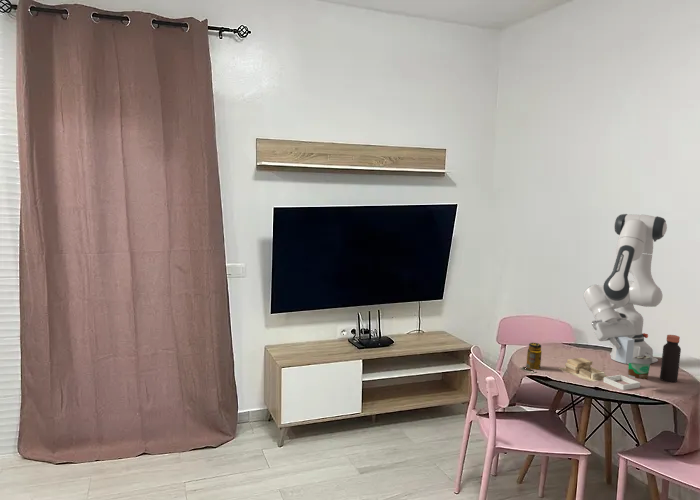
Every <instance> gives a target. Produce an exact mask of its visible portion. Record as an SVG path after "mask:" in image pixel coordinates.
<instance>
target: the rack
mask: <svg viewBox="0 0 700 500" xmlns="http://www.w3.org/2000/svg"><path fill="white" fill-rule="evenodd" d="M558 369H559V370H560V371H562V372H565V373H567V374H570V375H572V376H574V377H576V378H579V379H580V380H584V381H586V382H588V383H592V382H597V381H604V377H609V376H608V375H606V373H605V371H602V370H601V369H597V368H595V367H593V366H590V370H589V371H587V370H584V369H582V368H581V369H580V371H579V373H573V372H571V371H569V370H566V366H564V367H559V368H558Z"/></svg>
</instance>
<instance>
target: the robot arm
mask: <svg viewBox="0 0 700 500" xmlns="http://www.w3.org/2000/svg"><path fill="white" fill-rule="evenodd" d="M666 221H667V220H666V219H665V218H663V217H661V216H653V215H648V214H627V213H623V214H619V215H618V216H617V217H616V218H615V220H614V225H613V227H614V232H615V233H616V234H617V235H619V237H618V240H617V244H616V258H615V261H614V266H613V269H612V272H610V275H609V276H608V277H607V278H606V279H605V281H604V283H603V285H599V284H592V285H590V286H589V287H587V288H586V289H585V291H584V293H583V299H584V301H585V304H586V306H587V307H588V309H589V311H590V312H591V313H592V314H593V317H594V320H592V322H591V326H592V330H593V333H594V335H595V337H596V339H597V340H598V341H600V342H608V341H609V342H610V344H612V349H611V352H610V353H609V355H610V358H611V360H613V361H615V362H618V363H620V364H621V363H622V362H619V361H616V360H615V358H616V349H620V348H622V346H621V344H620V343H618V342H617V339H618V337H624V336H625V337H628V338H631V339H634V350H633V358H635V357H637V356H640V357H642V356H645V354H647V355H649V356H651V358H652V363H651V364H653V363H657V362H658V361H659V359H658V358H656V357H654V355H653V354H654V350H653V347H651V346H650V345H649V344H648V343H647V342H646V341H645V339H648V337H649V333H645V332H644V333H643V327H644V317H643V315H642V314H641V313H639V311H637V309H636V308H635V306H634V305H636V306H640V307H646V308H647V307H648V308H649V307H650V308H651V307H652V308H653V307H657V306H658V305H660V303H662V300H663V292H662V289H661V288H660V287H659V286H658V285H657V284H656V283H655V281H654V279H653V275H652V260H653V252H654V243H655V242H657V241H658V240H661V239H662V238H663V237H664V236H665V235H666V232H667V231H668V229H667V228H668V225H667V222H666ZM629 274H631V275H632V276H633V281H632V280H629ZM622 364H623V363H622ZM626 365H629V363H627V364H626Z"/></svg>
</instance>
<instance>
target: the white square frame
mask: <svg viewBox="0 0 700 500" xmlns="http://www.w3.org/2000/svg"><path fill="white" fill-rule="evenodd" d="M602 381H603V383H604V384H607V385H610V386H612V387H614V388H617V389H620V390H622V391H625V390H631V389H638V388H641V382H640V381H638V380H636V379H635V380H634V379H633V378H631V377H629V376H625V375H622V374H617V375H611V376H609V377H604V380H602ZM617 381H622V382H625V383H626V384H623V383H620V382H617Z"/></svg>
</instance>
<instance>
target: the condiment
mask: <svg viewBox="0 0 700 500" xmlns="http://www.w3.org/2000/svg"><path fill="white" fill-rule="evenodd" d="M526 354H527V355H526V365H525V366H522V367H519V369H520V370H521V371H524V372H528V373H530V374H535V373H536V372H534V371H536V370H540V369H541V363H542V344H541V343H538V342H530V343H529V344H528V348H527V353H526ZM526 367H527V368H526ZM525 368H526V369H525ZM531 371H533V372H531Z"/></svg>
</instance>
